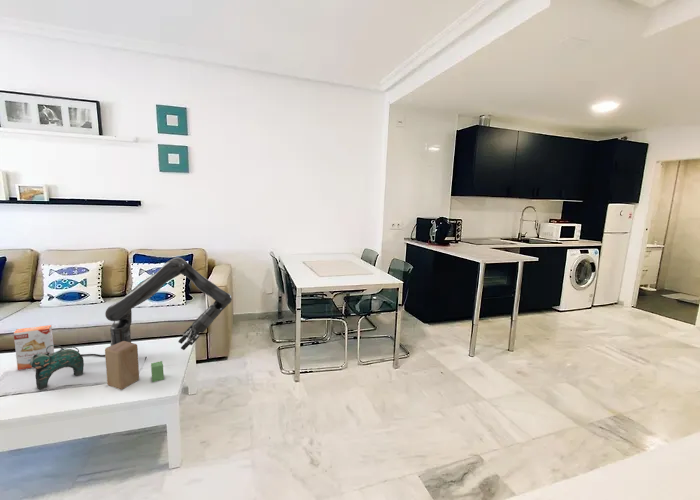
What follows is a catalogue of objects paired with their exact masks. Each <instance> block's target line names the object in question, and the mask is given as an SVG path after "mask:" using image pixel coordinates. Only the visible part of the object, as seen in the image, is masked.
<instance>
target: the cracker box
mask: <svg viewBox="0 0 700 500" xmlns="http://www.w3.org/2000/svg"><path fill="white" fill-rule="evenodd" d="M13 340H14V341H13V342H14V349H15V358H16V368H17V371H21V370H26V369H34V368H33V367H32V366H31V364H30V360H31V358H32V357H33V356H34V355H36V354H40V353H44V354H47V352H48V353H49V355H50V354H52V353H54V352H55V346H50V345H53V344H54V336H53V327H52V324H49V325H40V326H32V327H23V328H17V329H16V330H14V332H13ZM48 346H50V347H48ZM47 347H48V349H47ZM46 349H47V352H46Z"/></svg>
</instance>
